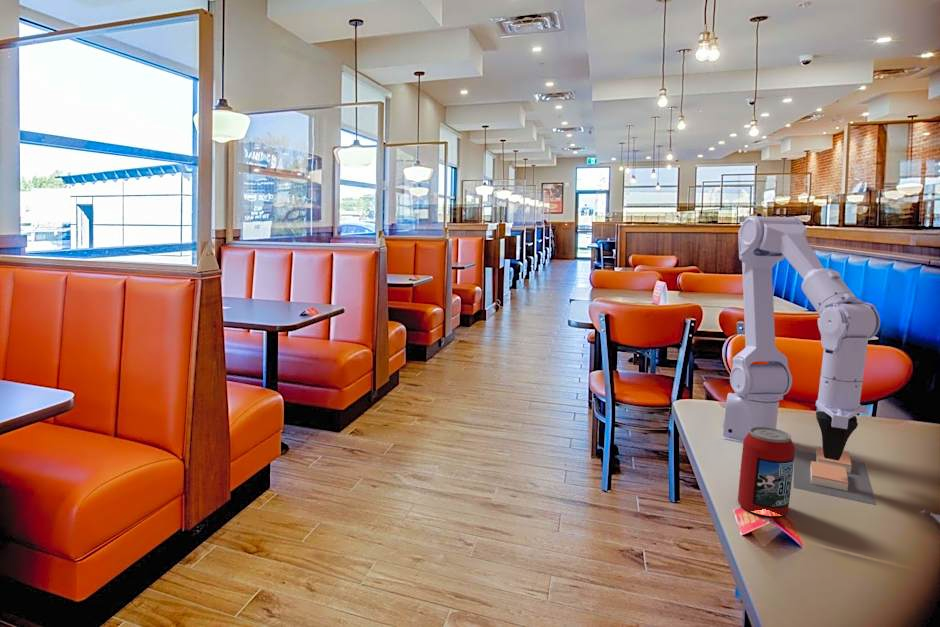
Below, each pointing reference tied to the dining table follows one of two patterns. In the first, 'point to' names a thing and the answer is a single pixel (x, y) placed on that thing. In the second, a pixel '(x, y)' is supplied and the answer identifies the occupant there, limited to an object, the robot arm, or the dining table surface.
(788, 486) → the beverage can
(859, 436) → the dining table surface
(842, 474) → the tile
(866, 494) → the placemat
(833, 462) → the flat tile
